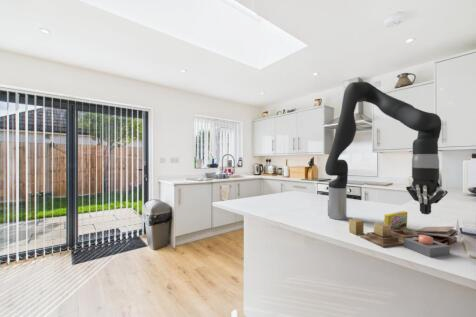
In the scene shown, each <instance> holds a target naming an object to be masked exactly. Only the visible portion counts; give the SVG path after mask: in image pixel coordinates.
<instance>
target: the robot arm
mask: <svg viewBox="0 0 476 317" xmlns="http://www.w3.org/2000/svg"><path fill="white" fill-rule="evenodd" d="M362 102H366V103H369V104H372V105H375V107H377V108H378V109H379V110H380V111H381V112H382V113H383V114H384V115H386V116H388V117H389V118H391V119H394V120H396V121H398V122H400V123H401V124H402V125H404V126H406V127H407V128H409V129H411V130H413V131H416V132H417V138H416V139H414V140H413V141H412V158H411V179H412V182H411V185H409V186H406V188H405V189H406V191H407V192H408V194H409V195H410V196H411V198H412V199H413V200H414V201H415V202H418V203H419V211H420V213H421V214H422V215H427V216H428V215H430V214H431V213H432V204H438V203H439V202H440V201H441V200H442V199H443V198H444V197H445V196H446V195H448V193H449V192H448V191H447V190H444V189H443V188H441V184H440V181H439V180H440V158H439V140H440V135H441V130H442V120H441V117H440V115H438V114H437V113H433V112H428V111H424V110H421V109H418V108H417V107H414V106H413V105H412V104H410V103H407V102H405V101H404V100H401V99H399V98H396V97H394V96H391V95H389V94H388V93H385V92H383V91H382V90H380V89H378V88H377V87H376V86H374V85H373V84H371V83H370V82H367V81H354V82H350V83H348V85H347V86H346V87H345V89H344V92H343V97H342V102H341V103H342V104H341V108H340V115H339V120H338V123H337V126H336V130H335V134H334V137H333V142H332V145H331V149H330V151H329V155H328V157H327V160H326V163H325V166H324V169H325V174H327V176H331V177H332V176H334V177H335V176H337V177H336V178H335V179H333V180H331V181H329V183H328V199H327V217H329V218H330V219H333V220H338V221H339V220H341V221H342V220H347V213H348V212H347V184H348V176H349V165H348V163H347V161H346V160H345V159H339V158H340V156H341V154H342V153H343V152H344V151H345V150H346V149H347V148H348V147H349V146H350V145H351V144H352V143H353V141H354V139H355V136H356V132H357V123H356V119H355V110H356V107H357V104H358V103H362Z"/></svg>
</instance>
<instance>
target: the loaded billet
mask: <svg viewBox="0 0 476 317" xmlns="http://www.w3.org/2000/svg"><path fill="white" fill-rule="evenodd" d="M373 232H374V235H376V236H379V237H381V238H388V237H391V225H388V224H385V223H384V222H374V223H373Z"/></svg>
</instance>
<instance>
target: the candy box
mask: <svg viewBox="0 0 476 317" xmlns="http://www.w3.org/2000/svg"><path fill="white" fill-rule="evenodd" d="M383 219H384V222H383V223H385V224H388V225H391V230H400V229H403V230H406V229H407V228H408V211H404V210H402V211H397V212H392V213H388V214H386V213H385V214H384V217H383Z"/></svg>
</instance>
